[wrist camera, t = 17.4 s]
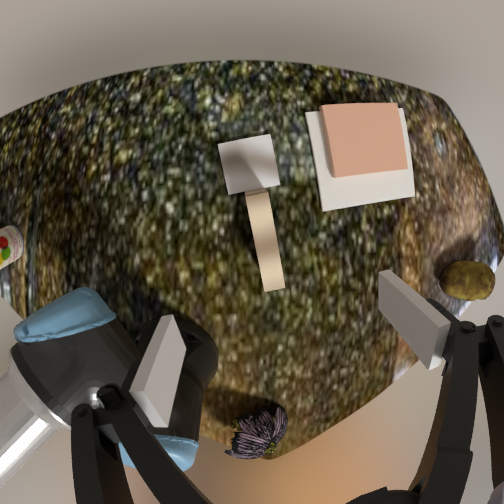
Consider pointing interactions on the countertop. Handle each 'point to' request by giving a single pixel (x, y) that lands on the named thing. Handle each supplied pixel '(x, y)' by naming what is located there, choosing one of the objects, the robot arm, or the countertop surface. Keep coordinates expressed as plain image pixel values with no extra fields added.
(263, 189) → the scraper
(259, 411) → the decorative flower
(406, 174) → the mat
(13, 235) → the aerosol can
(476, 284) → the potato
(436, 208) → the countertop surface
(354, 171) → the tile
